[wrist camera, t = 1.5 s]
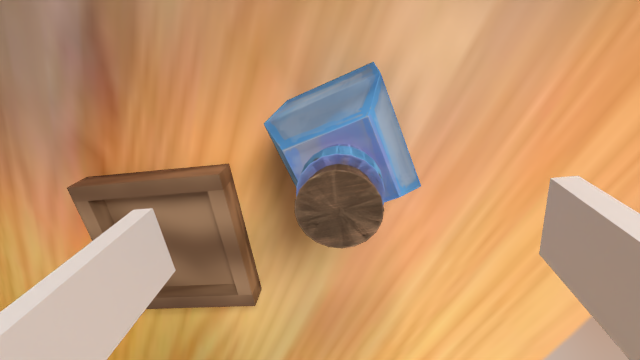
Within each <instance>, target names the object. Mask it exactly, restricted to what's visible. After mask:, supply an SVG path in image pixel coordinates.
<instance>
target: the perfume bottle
mask: <svg viewBox="0 0 640 360" xmlns="http://www.w3.org/2000/svg"><path fill="white" fill-rule="evenodd" d="M264 125H265V127H266V129H267V131H268V133H269V135H270V137H271V139H272V141H273V143H274V145H275V147H276V149H277V151H278V153H279V155H280V157H281V159H282V161H283V162H284V164H285V166H286V168H287V170H288V172H289V174H290V176H291V178H292V180H293V182H294V184H295V186H296V188H297V191H296V200H295V216H296V219H297V221H298V224H299V226H300V227H301V229H302V230H303V231H304V233H305V234H306V235H307V236H309V237H310V238H311V239H313V240H314V241H315V242H317V243H320V244H322V245H325V246H328V247H334V248H347V247H353V246H356V245H359V244H361V243H363V242H365V241H367V240H368V239H369V238H370V237H371V236H372V235H374V234H375V233H376V232H377V230H378V228H379V226H380V224H381V222H382V219H383V212H384V207H383V205H384V202H387V201H390V200H393V199H396V198H399V197H401V196H403V195H405V194H407V193H409V192H411V191H413V190H415V189H417V188H419V187H421V184H420V182H419V179H418V176H417V173H416V171H415V168H414V165H413V162H412V159H411V157H410V154H409V151H408V148H407V145H406V143H405V140H404V137H403V134H402V132H401V129H400V126H399V123H398V120H397V118H396V115H395V112H394V109H393V106H392V104H391V101H390V98H389V95H388V93H387V90H386V87H385V84H384V81H383V79H382V76H381V73H380V71H379V70H378V68H377V67H376V65H375V63H374V62H372V63H370V64H368V65H365V66H363V67H361V68H359V69H356V70H354V71H352V72H350V73H347V74H345V75H343V76H341V77H339V78H336V79H334V80H332V81H330V82H327V83H325V84H323V85H321V86H319V87H316V88H314V89H312V90H310V91H307V92H305V93H303V94H301V95H298V96H296V97H294V98H292V99H290V100H287V101H286V102H285V103H284V104H283V105H282V106H281V107H280V108H279V109H278V110H277V111H276V112H275V113H274V114H273V115H272V116H271V117H270V118H269V119H268V120H267V121H266V122H265V123H264Z"/></svg>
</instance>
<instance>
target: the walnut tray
mask: <svg viewBox="0 0 640 360" xmlns="http://www.w3.org/2000/svg"><path fill="white" fill-rule="evenodd" d="M67 189H68V191H69V193H70V195H71V197H72V200H73V202H74V204H75V206H76V208H77V210H78V212H79V214H80V216H81V218H82V220H83V222H84V224H85V226H86V228H87V230H88V233H89V235H90V237H91V239H92V241H93V240H95V239H96V238H97V237H99V236H100V235H101V234H102V233H104V232H105V231H106V230H108V229H109V228H110V227H112V226H113V225H114V224H115V223H117V222H118V221H119V220H121V219H122V218H123V217H125V216H126V215H127V214H128V213H130V212H131V211H132V210H136V209H149V208H153V210H154V213H155V216H156V218H157V221H158V224H159V227H160V229H161V232H162V235H163V238H164V240H165V243H166V246H167V248H168V251H169V254H170V257H171V259H172V262H173V265H174V267H175V270H176V271H175V272H174V273H173V275H172V276H171V277H170V278H169V280H168V281H167V282H166V284H165V285H164V286H163V287H162V289H161V290H160V291H159V293H158V294H157V295H156V297H155V298H154V299H153V300H152V302H151V303H150V304H149V306H148V307H147V308H146V309H159V308H195V307H230V306H255V305H256V302H257V300H258V297H259V294H260V292H261V285H260V281H259V277H258V274H257V270H256V266H255V262H254V258H253V254H252V250H251V247H250V243H249V239H248V235H247V231H246V227H245V223H244V220H243V216H242V212H241V208H240V204H239V200H238V197H237V193H236V189H235V185H234V181H233V177H232V173H231V170H230V166H229V164H222V165H211V166H201V167H190V168H179V169H168V170H158V171H147V172H136V173H126V174H115V175H104V176H93V177H86V178H84V179H82V180H81V181H79V182H77V183H75V184H73V185H71V186H69V187H68V188H67Z"/></svg>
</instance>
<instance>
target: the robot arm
mask: <svg viewBox="0 0 640 360" xmlns="http://www.w3.org/2000/svg"><path fill="white" fill-rule="evenodd" d="M539 254H540V256H541V257H542V258H543V259H544V260H545V261H546V263H547V264H548V265H549V266H550V267H551V268H552V270H553V271H554V272H555V273H556V274H557V275H558V277H559V278H560V279H561V280H562V281H563V282H564V284H565V285H566V286H567V287H568V288H569V289H570V291H571V292H572V293H573V294H574V295H575V297H576V298H577V299H578V300H579V301H580V302H581V304H582V305H583V306H584V307H585V308H586V309H587V311H588V312H589V313H590V314H591V315H592V316H593V318H594V319H595V320H596V321H597V322H598V323H599V325H600V326H601V327H602V328H603V329H604V330H605V332H606V333H607V334H608V335H609V336H610V338H611V339H612V340H613V341H614V342H615V343H616V345H617V346H618V347H619V348H620V349H621V350H622V352H623V353H624V354H625V355H626V356H627V357H628V359H629V360H640V214H639V213H638V212H636V211H634V210H633V209H631V208H630V207H628V206H626V205H625V204H623V203H621V202H620V201H618V200H617V199H615V198H613V197H612V196H610V195H608V194H607V193H605V192H604V191H602V190H600V189H599V188H597V187H595V186H594V185H592V184H591V183H589V182H587V181H586V180H584V179H582V178H581V177H579V176H572V177H558V178H550V185H549V191H548V198H547V205H546V212H545V218H544V225H543V232H542V238H541V245H540V252H539ZM175 271H176V270H175V267H174V265H173V262H172V259H171V257H170V254H169V251H168V248H167V246H166V243H165V240H164V238H163V235H162V232H161V229H160V227H159V224H158V221H157V218H156V216H155V213H154V210H153V208H149V209H136V210H132V211H131V212H130V213H128V214H127V215H126V216H125V217H123V218H122V219H121V220H119V221H118V222H117V223H115V224H114V225H113V226H112V227H110V228H109V229H108V230H106V231H105V232H104V233H102V234H101V235H100V236H99V237H97V238H96V239H95V240H93V241H92V242H91V243H89V244H88V245H87V246H86V247H84V248H83V249H82V250H80V251H79V252H78V253H76V254H75V255H74V256H73V257H71V258H70V259H69V260H67V261H66V262H65V263H63V264H62V265H61V266H60V267H58V268H57V269H56V270H54V271H53V272H52V273H50V274H49V275H48V276H47V277H45V278H44V279H43V280H41V281H40V282H39V283H37V284H36V285H35V286H34V287H32V288H31V289H30V290H28V291H27V292H26V293H24V294H23V295H22V296H21V297H19V298H18V299H17V300H15V301H14V302H13V303H11V304H10V305H9V306H8V307H6V308H5V309H4V310H2V311H1V312H0V360H107V358H108V357H109V356H110V355H111V353H112V352H113V351H114V349H115V348H116V347H117V345H118V344H119V343H120V342H121V340H122V339H123V338H124V336H125V335H126V334H127V333H128V331H129V330H130V329H131V327H132V326H133V325H134V324H135V322H136V321H137V320H138V318H139V317H140V316H141V315H142V313H143V312H144V311H145V309H146V308H147V307H148V306H149V304H150V303H151V302H152V300H153V299H154V298H155V297H156V295H157V294H158V293H159V291H160V290H161V289H162V287H163V286H164V285H165V284H166V282H167V281H168V280H169V278H170V277H171V276H172V275H173V273H174V272H175Z"/></svg>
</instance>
